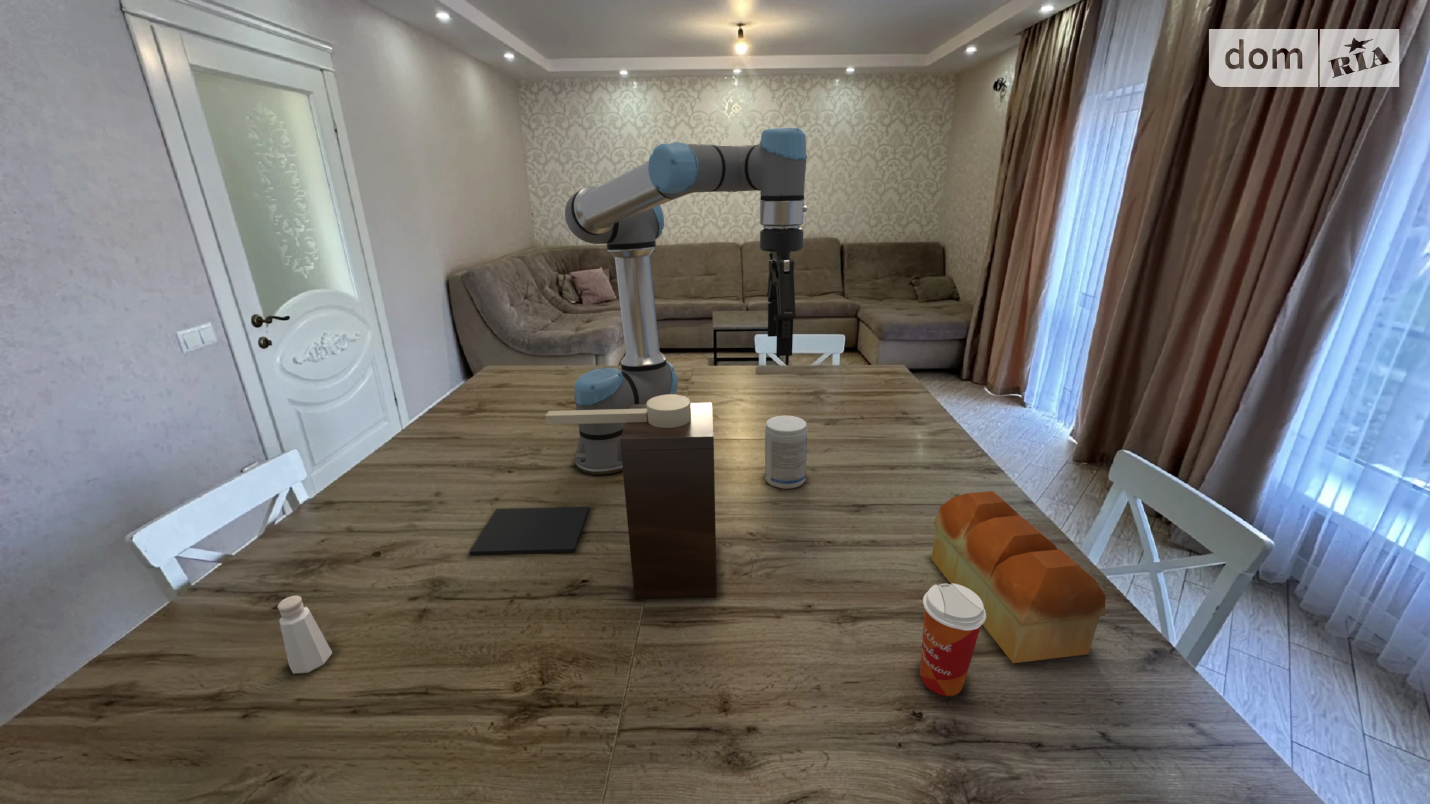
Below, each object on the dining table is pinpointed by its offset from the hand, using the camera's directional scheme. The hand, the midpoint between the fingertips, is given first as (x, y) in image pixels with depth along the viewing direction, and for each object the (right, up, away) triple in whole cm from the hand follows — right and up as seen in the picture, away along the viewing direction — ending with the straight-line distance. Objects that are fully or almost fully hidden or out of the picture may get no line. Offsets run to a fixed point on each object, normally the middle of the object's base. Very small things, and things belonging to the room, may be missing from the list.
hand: (779, 345), depth 104 cm
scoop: (-27, -14, -15) cm, 34 cm away
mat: (-49, -37, +9) cm, 62 cm away
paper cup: (+20, -50, -26) cm, 60 cm away
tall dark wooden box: (-19, -41, -4) cm, 46 cm away
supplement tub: (+4, -29, +26) cm, 40 cm away
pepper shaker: (-72, -50, -21) cm, 90 cm away
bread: (+35, -44, -12) cm, 58 cm away
